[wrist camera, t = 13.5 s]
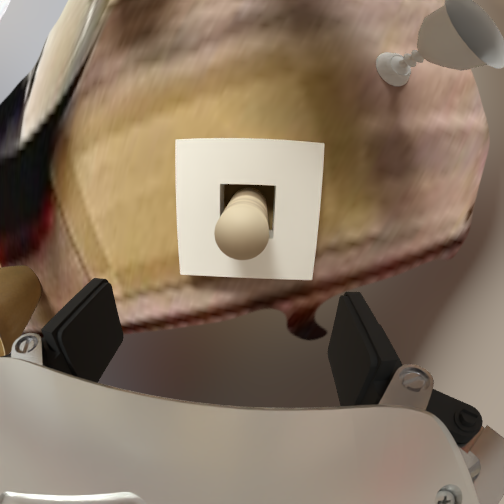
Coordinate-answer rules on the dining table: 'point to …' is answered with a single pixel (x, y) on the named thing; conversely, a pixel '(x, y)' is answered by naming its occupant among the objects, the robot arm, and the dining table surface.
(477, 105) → the dining table surface
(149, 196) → the dining table surface
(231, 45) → the dining table surface
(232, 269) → the socket
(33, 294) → the plant pot
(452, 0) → the chalice
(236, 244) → the peg
